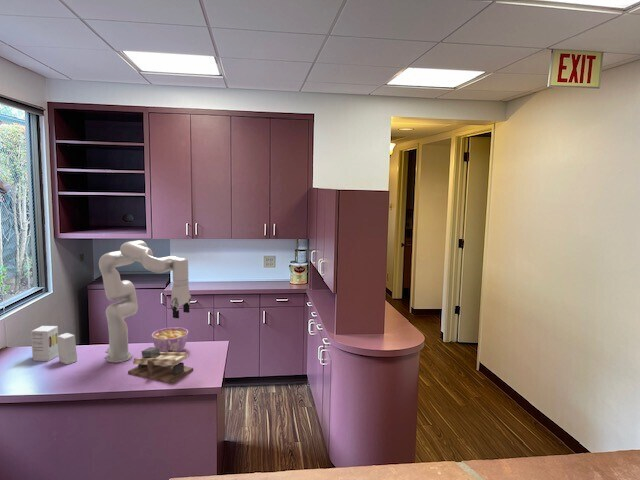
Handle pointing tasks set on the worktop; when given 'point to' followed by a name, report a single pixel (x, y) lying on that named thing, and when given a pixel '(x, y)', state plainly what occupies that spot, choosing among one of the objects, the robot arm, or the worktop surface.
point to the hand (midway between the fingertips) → (181, 315)
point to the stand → (161, 371)
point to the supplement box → (44, 343)
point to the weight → (151, 352)
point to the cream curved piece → (163, 359)
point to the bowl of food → (170, 339)
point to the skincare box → (67, 348)
